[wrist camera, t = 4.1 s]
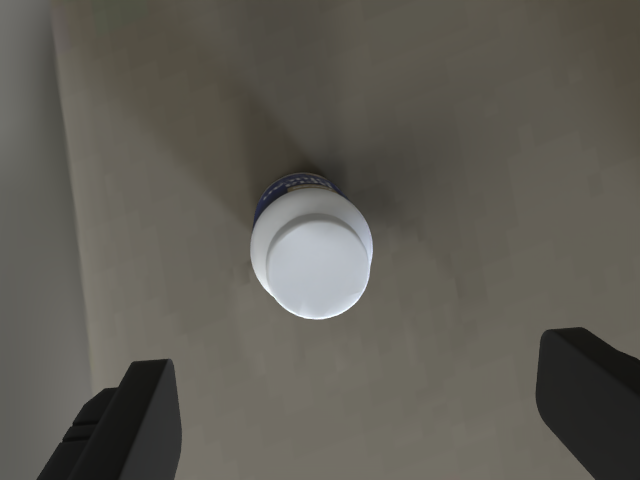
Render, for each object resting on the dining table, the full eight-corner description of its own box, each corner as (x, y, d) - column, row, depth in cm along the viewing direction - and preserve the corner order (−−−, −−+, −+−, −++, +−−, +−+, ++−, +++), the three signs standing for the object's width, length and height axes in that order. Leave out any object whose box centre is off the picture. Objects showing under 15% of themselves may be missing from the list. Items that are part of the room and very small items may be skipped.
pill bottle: (326, 155, 27) (358, 176, 17) (362, 239, 28) (410, 302, 19) (237, 195, 27) (221, 238, 17) (278, 277, 28) (284, 358, 19)
